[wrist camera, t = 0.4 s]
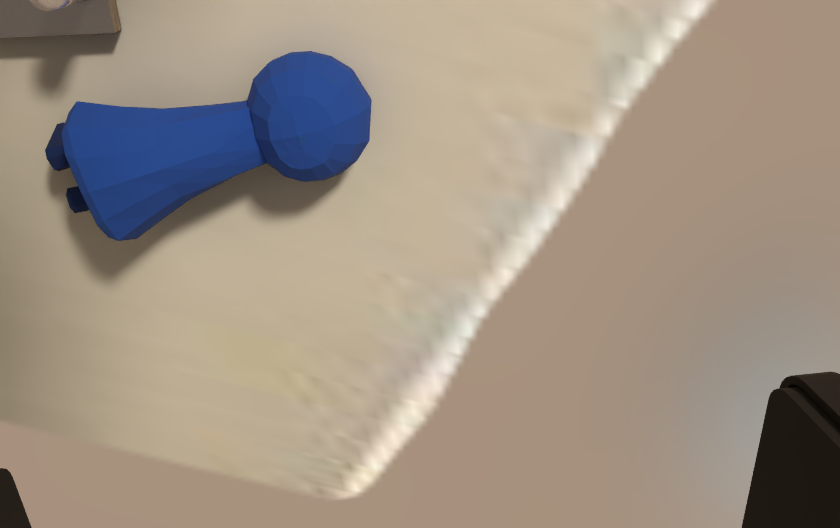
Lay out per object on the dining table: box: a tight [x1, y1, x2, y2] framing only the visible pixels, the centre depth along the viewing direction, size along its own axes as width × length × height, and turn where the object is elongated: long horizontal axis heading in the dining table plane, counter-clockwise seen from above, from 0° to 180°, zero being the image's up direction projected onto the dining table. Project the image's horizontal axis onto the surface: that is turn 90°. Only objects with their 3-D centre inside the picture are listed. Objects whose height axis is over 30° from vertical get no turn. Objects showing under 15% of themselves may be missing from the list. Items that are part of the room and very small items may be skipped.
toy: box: [45, 51, 371, 241], centre depth 33 cm, size 7×6×15 cm
